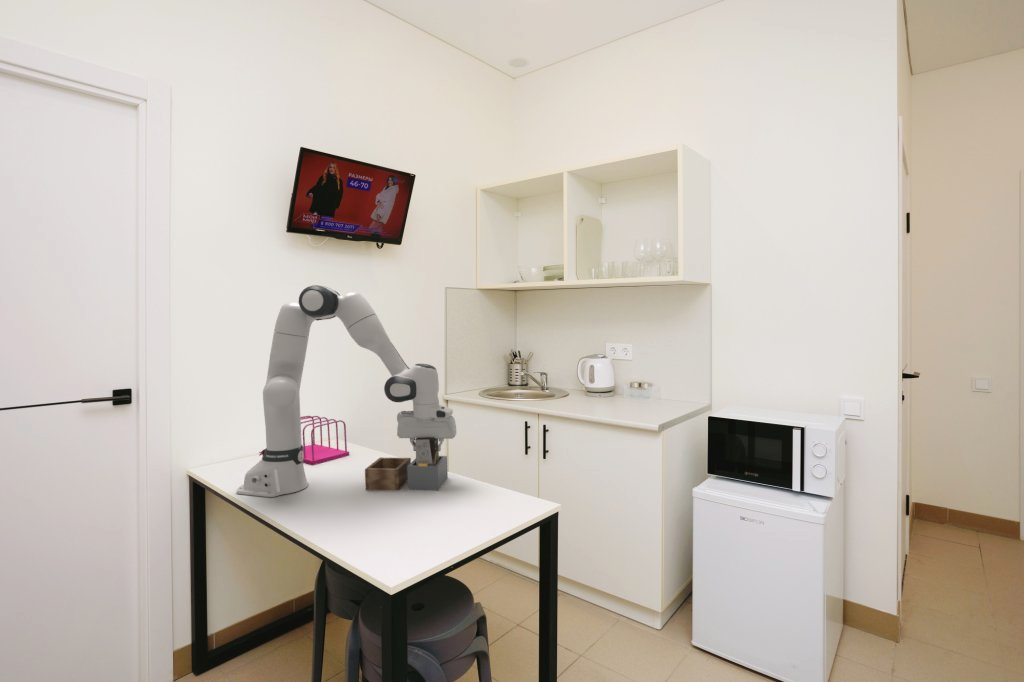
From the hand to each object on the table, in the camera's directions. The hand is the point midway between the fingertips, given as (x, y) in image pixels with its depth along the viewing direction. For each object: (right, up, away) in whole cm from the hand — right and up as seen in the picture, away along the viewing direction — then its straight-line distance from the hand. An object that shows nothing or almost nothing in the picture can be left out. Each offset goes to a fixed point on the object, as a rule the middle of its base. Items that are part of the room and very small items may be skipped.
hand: (427, 450), depth 183 cm
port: (0, -12, +1) cm, 12 cm away
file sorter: (-54, -11, +40) cm, 68 cm away
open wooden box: (-14, -12, +2) cm, 18 cm away
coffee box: (+1, -11, +1) cm, 11 cm away
